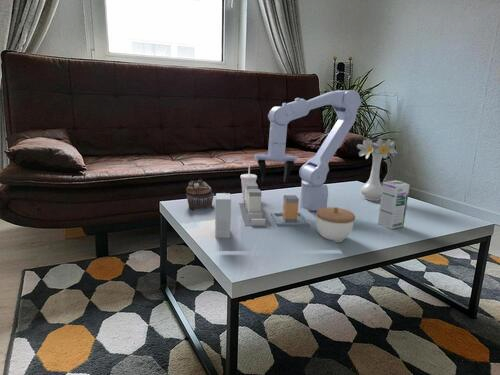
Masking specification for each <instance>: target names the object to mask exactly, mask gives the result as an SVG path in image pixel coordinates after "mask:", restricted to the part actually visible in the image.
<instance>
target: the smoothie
mask: <svg viewBox="0 0 500 375" xmlns="http://www.w3.org/2000/svg"><path fill="white" fill-rule="evenodd" d="M247 172H248V173H243V174H241V175H240V179H241V192H242V193H241V194H242V199H243V200H244V198H245V185H246V183H257V182H256V181H257V179H258V175H256V174H254V173H253V174H252V173H250V172H251V163H248V170H247Z"/></svg>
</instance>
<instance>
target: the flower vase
mask: <svg viewBox="0 0 500 375" xmlns="http://www.w3.org/2000/svg"><path fill="white" fill-rule="evenodd" d="M356 148H357V149H358V150H360V151H359V152H358V156H359V157H363V156H365V159H366V160H368V159H369V158H370V154H371V155H372V165H371V171H370V175H369V179H368V180H367V181H366V182H365V183H364V184H363V185H362V186H361V188H360V192H361V194H362V196H363V198H364V199H365V200H366V201H370V202H377V201H381V195H382V187H383V184H381V180H380V171H381V170H380V169H381V163H382V159H387V158H388V153H390V155H392V156H393V157H394V158H395V157H396V155H399V153H398V151H397V150H396V149H395V142H394V141H392V140H390V138H388V139H387V140H386V141H385V142H383V138H378V140H377V141H376V142H373V141H372V139H369V137H368V138H366V139H363V141H362V144H360V143H358V144H356Z"/></svg>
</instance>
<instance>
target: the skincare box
mask: <svg viewBox="0 0 500 375" xmlns="http://www.w3.org/2000/svg"><path fill="white" fill-rule="evenodd" d="M231 196H232V195H231V193H229V192H228V193H225V192H223V193H222V192H220V193H218V192H217V193H216V194H215V208H214V209H215V210H214V211H215V213H214V214H215V220H214V221H215V222H214V224H215V228H214V230H215V233H214V235H215V238H216V239H217V238H221V239H227V238H231V216H232V215H231V213H232V212H231V211H232V207H231V206H232V198H231Z"/></svg>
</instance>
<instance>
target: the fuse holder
mask: <svg viewBox="0 0 500 375" xmlns="http://www.w3.org/2000/svg"><path fill="white" fill-rule="evenodd" d="M238 205H239V209H240V212H241V216H242V220H243V224H244V227H272V225H271V223H270V221H269V219H268V216H267V214H266V212H265V210H264V208H263V205H262V204H261V210H248V213H247V203H246V206H245V198H244V199H243V202H239V203H238Z"/></svg>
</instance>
